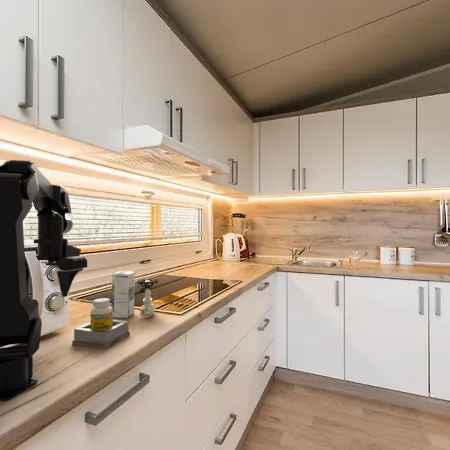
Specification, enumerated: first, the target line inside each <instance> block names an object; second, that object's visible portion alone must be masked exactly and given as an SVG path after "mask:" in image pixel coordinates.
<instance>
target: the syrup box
mask: <svg viewBox="0 0 450 450" xmlns="http://www.w3.org/2000/svg"><path fill="white" fill-rule="evenodd" d="M111 275H112V276H111V308H112V310H113V319H128V318H130V317H131V316H133V315H134V313H135V298H136V297H135V295H136V290H135V289H136V284H135V283H136V272H135V271H130V270H120V271H117V272H115V273H112V274H111Z"/></svg>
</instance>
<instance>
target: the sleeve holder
mask: <svg viewBox="0 0 450 450" xmlns="http://www.w3.org/2000/svg"><path fill="white" fill-rule="evenodd" d="M130 336H131V332H130V331H129V320H121V319H113V327H111V328H109V329H107V330H105V331H102V330H94V329H91V321H90V322H88V323H84V324H83V325H80V326H77V327H75V328H74V329H73V340H72V342H71V343H72V344H71V345H72V346H77V347H84V348H90V349H95V350H96V349H97V350H101V351H102V350H103V351H106V350H108V349H109V348H111V347H113V346H115V345H116V344H118V343H120V342H122V341H124V340H125V339H127V338H128V337H130Z"/></svg>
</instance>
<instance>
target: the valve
mask: <svg viewBox="0 0 450 450" xmlns="http://www.w3.org/2000/svg"><path fill="white" fill-rule="evenodd" d="M137 284H138V285H139V286H140V285H141V287H142V288H144V289H145V291H144V298H143V299H142V303H143V305H142V306H141V308H140V311H139V315H140V317H141V318H142V319H148V318H149V317H151V316H152V315H154V313H155V309H156V307H155V304H154V303H153V298H152V297H151V290H150V289H151V288H153V286H154V285H155V284H159V279H158V280H157V278H153V279H152V278H147V279H145V278H141V279H138V280H137Z"/></svg>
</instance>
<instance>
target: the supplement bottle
mask: <svg viewBox="0 0 450 450" xmlns="http://www.w3.org/2000/svg"><path fill="white" fill-rule="evenodd" d="M110 302H111V301H110V298H107V297H106V298H105V297H103V298H101V297H100V298H97V299H94V300H92V303H93V304H92V306H93V308H92V309H91V310H90V322H91V329H94V330H102V331H105V330H107V329H109V328H111V327H113V320H114V318H113V310H112V306H110Z"/></svg>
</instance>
